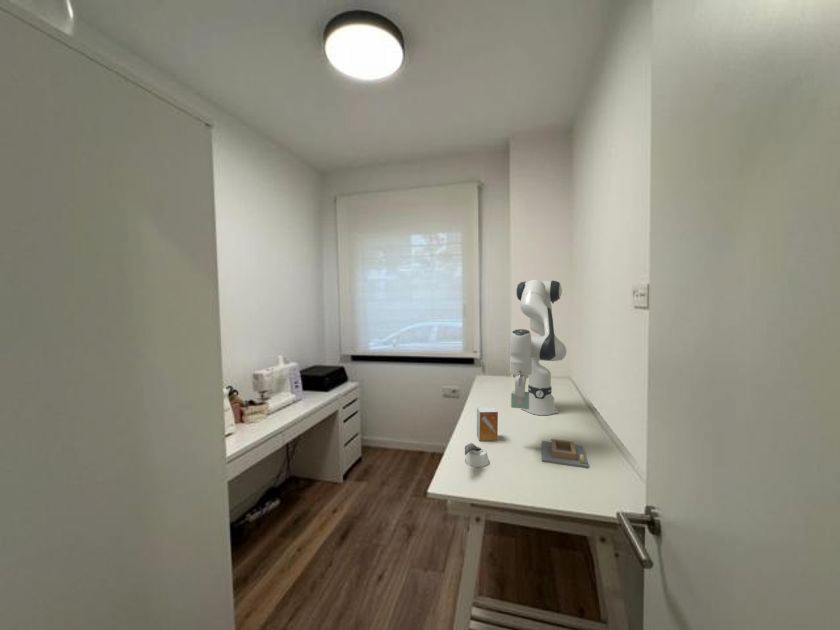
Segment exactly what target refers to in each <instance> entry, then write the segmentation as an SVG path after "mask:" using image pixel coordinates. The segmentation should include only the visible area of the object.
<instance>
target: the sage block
mask: <svg viewBox="0 0 840 630" xmlns="http://www.w3.org/2000/svg"><path fill="white" fill-rule="evenodd" d="M510 395H511V396H510V397H511V399H510V403H511V404H510V408H514V409H521V408H522V409H529V391H525V395H524V397H523V398H522V404H518V398H517V397H515V390H511V394H510ZM522 409H521V410H522Z"/></svg>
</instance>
